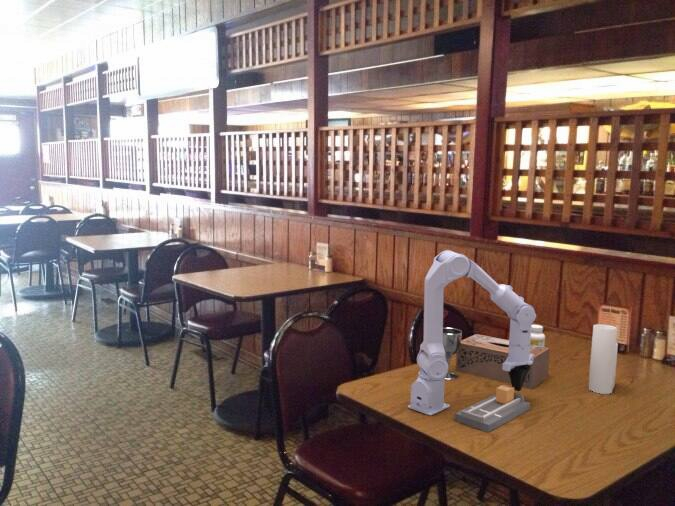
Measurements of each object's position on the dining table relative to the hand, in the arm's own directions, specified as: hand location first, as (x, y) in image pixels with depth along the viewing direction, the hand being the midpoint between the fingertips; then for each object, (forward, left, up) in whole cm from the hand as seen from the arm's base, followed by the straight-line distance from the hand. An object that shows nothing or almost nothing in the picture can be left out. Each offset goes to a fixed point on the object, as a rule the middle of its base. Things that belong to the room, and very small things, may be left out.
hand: (516, 389), depth 167 cm
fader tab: (-7, 0, -2) cm, 7 cm away
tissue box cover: (+20, +16, -4) cm, 26 cm away
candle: (+31, -12, -4) cm, 34 cm away
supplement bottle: (+41, +15, -4) cm, 44 cm away
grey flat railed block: (-13, 0, -4) cm, 13 cm away
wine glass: (+5, +27, -4) cm, 28 cm away
